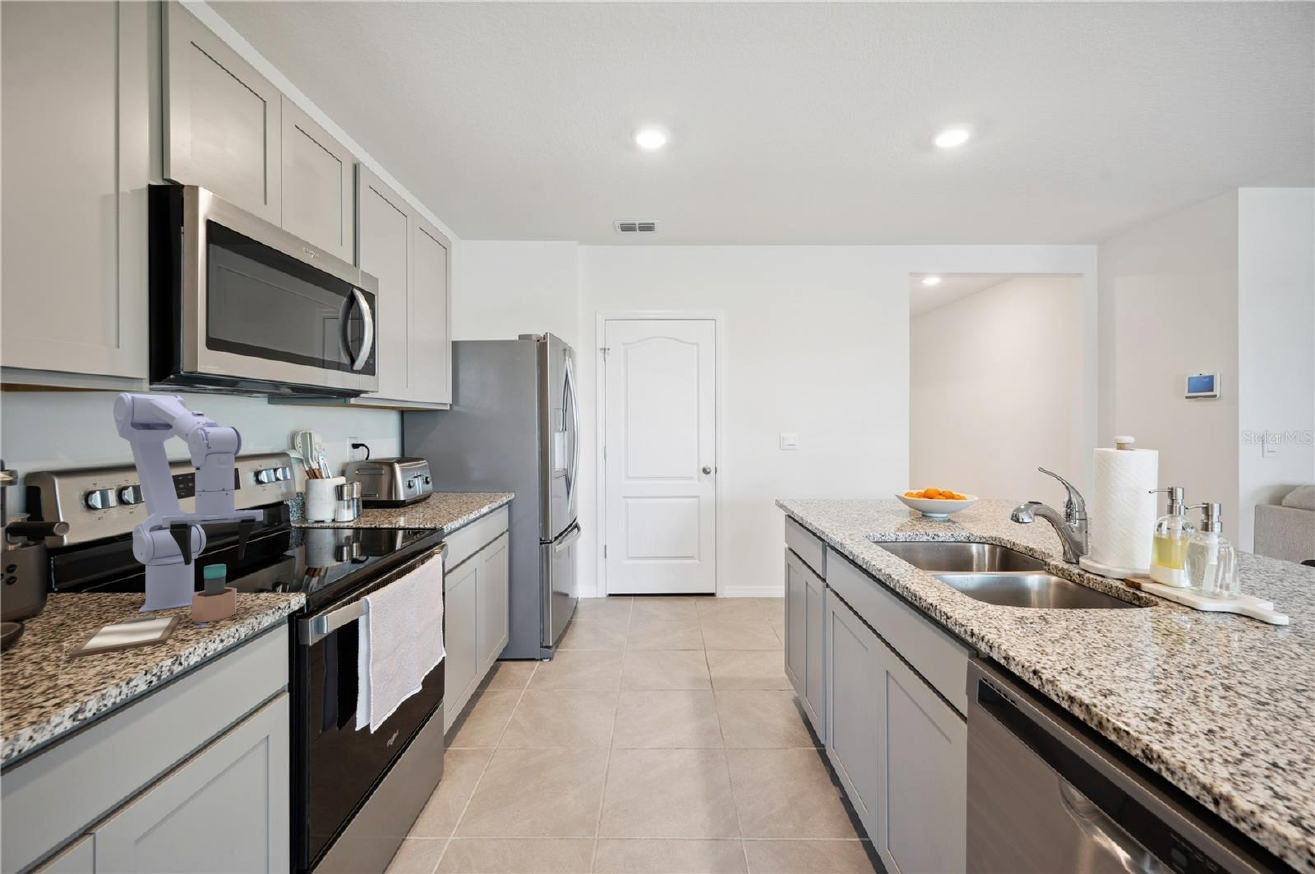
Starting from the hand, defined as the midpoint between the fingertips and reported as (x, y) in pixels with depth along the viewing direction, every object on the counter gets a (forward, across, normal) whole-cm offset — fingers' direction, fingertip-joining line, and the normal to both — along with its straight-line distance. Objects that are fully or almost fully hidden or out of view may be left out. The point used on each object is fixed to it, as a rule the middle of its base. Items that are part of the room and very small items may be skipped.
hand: (215, 561), depth 100 cm
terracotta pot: (+10, 0, 0) cm, 10 cm away
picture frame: (+10, -10, -5) cm, 16 cm away
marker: (+10, 0, 0) cm, 10 cm away
